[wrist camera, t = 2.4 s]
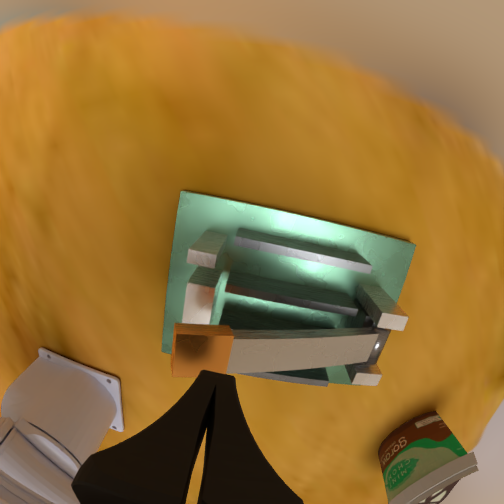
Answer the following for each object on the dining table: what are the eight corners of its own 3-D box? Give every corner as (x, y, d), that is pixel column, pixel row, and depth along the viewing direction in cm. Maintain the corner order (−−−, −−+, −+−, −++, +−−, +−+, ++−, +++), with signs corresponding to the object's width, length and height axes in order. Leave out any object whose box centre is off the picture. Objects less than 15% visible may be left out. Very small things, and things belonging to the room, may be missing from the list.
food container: (394, 405, 24) (429, 483, 14) (441, 400, 24) (481, 466, 14) (352, 474, 27) (367, 539, 17) (396, 468, 27) (416, 528, 17)
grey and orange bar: (382, 321, 17) (394, 331, 16) (369, 353, 18) (379, 363, 17) (174, 320, 13) (176, 335, 12) (170, 362, 13) (172, 378, 12)
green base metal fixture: (410, 241, 20) (451, 264, 14) (357, 378, 23) (375, 423, 17) (184, 190, 19) (156, 197, 14) (165, 344, 22) (142, 389, 17)
